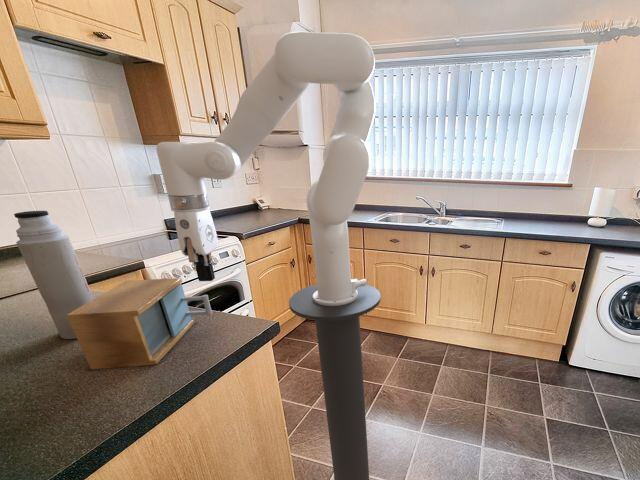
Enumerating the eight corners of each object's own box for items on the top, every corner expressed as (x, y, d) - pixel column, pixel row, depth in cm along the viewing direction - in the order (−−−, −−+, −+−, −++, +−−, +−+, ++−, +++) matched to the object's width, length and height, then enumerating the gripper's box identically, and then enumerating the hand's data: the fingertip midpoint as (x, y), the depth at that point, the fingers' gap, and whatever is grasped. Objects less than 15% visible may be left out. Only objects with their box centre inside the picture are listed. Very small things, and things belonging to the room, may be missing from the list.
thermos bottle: (102, 319, 86) (56, 207, 74) (106, 330, 80) (57, 211, 69) (60, 330, 81) (4, 211, 69) (61, 342, 75) (0, 216, 64)
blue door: (216, 317, 84) (207, 282, 80) (202, 335, 76) (191, 296, 72) (189, 319, 83) (178, 283, 79) (172, 337, 75) (159, 298, 71)
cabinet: (194, 323, 84) (181, 277, 79) (156, 364, 67) (137, 310, 63) (142, 326, 82) (125, 280, 77) (90, 369, 66) (65, 314, 61)
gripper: (193, 207, 69) (212, 290, 76) (219, 198, 82) (232, 270, 90) (153, 207, 68) (176, 292, 75) (186, 198, 81) (202, 270, 89)
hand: (207, 279), depth 82 cm, fingers closed
